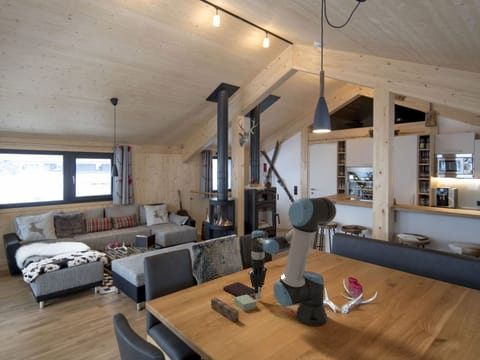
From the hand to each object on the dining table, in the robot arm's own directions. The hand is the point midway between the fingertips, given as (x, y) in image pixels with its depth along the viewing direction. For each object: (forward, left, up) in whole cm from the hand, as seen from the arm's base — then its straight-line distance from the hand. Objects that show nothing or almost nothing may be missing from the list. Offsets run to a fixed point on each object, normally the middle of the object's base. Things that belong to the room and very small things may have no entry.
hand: (257, 298), depth 170 cm
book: (+15, +1, -2) cm, 15 cm away
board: (0, +24, -1) cm, 24 cm away
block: (0, +10, -2) cm, 10 cm away
